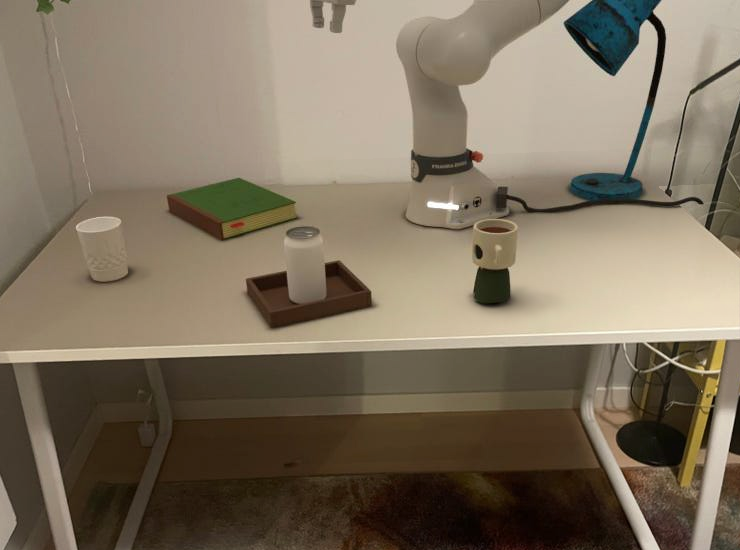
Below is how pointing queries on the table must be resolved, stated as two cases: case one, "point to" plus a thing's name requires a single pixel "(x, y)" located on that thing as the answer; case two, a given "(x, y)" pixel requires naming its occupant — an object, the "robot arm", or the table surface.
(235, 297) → the table surface
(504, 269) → the character mug
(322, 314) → the tray
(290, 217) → the hardcover book
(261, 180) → the table surface
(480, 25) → the robot arm
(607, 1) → the desk lamp
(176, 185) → the table surface
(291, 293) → the can
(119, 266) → the white cup
